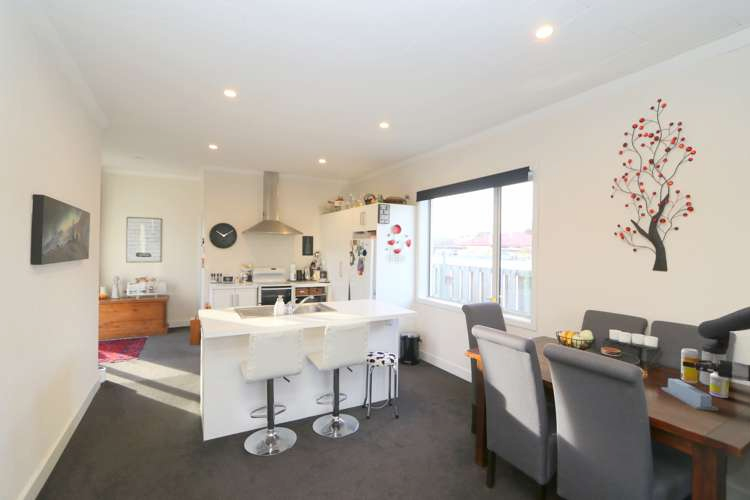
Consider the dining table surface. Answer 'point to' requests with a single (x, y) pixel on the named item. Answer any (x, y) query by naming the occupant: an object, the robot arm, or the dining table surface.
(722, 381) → the supplement bottle
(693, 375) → the beer can
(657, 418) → the dining table surface
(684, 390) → the rail
